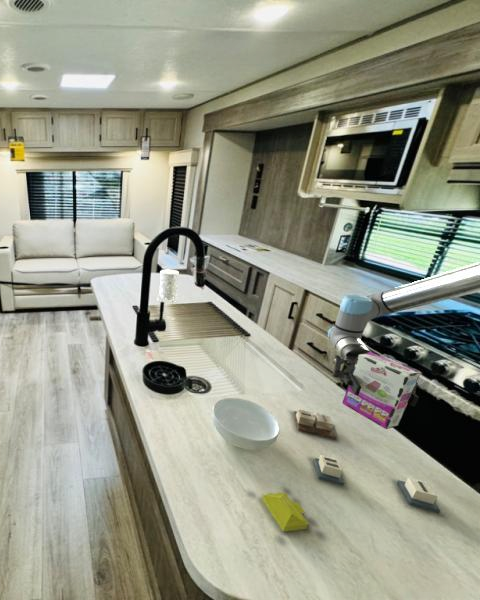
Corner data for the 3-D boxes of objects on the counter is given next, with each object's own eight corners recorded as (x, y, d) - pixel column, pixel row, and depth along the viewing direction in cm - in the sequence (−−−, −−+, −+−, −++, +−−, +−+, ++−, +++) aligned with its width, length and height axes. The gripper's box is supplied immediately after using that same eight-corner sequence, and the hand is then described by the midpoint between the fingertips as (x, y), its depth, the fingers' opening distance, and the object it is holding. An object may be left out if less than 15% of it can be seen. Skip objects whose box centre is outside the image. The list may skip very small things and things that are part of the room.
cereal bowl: (207, 447, 86) (210, 427, 84) (211, 409, 100) (214, 391, 98) (278, 469, 80) (284, 448, 77) (271, 425, 94) (276, 406, 91)
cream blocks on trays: (424, 490, 74) (430, 479, 72) (438, 513, 68) (445, 502, 67) (312, 460, 82) (316, 449, 81) (318, 479, 77) (322, 468, 75)
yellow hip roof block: (251, 494, 73) (254, 486, 72) (288, 490, 74) (290, 482, 73) (281, 540, 64) (284, 531, 63) (322, 535, 65) (326, 526, 64)
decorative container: (167, 295, 199) (169, 268, 193) (181, 300, 190) (183, 272, 183) (153, 298, 194) (155, 270, 188) (166, 304, 185) (169, 275, 178)
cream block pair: (327, 421, 95) (330, 411, 94) (335, 439, 88) (339, 429, 87) (293, 413, 98) (295, 403, 97) (298, 430, 91) (301, 421, 90)
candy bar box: (399, 425, 82) (422, 373, 76) (386, 430, 80) (408, 376, 74) (353, 399, 92) (370, 350, 86) (340, 403, 90) (357, 354, 84)
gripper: (398, 371, 95) (441, 420, 76) (308, 357, 104) (326, 397, 85) (406, 350, 92) (453, 394, 73) (313, 337, 101) (334, 374, 82)
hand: (385, 396), depth 79 cm, fingers closed on candy bar box, 10 cm apart
